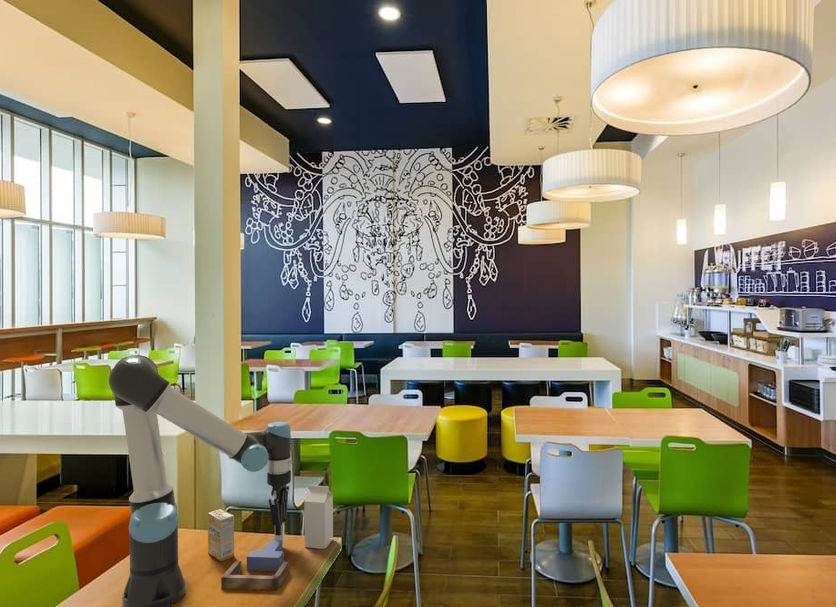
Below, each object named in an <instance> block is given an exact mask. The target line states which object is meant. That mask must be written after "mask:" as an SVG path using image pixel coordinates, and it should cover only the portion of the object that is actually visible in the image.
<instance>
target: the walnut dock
mask: <svg viewBox="0 0 836 607" xmlns="http://www.w3.org/2000/svg"><path fill="white" fill-rule="evenodd" d="M289 566H290V564H289V561H284V562H283V564H282V565H281V566H280V568H279V569H278V571H275V572H276V573H275V574H274V575H254V574H253V575H251V574H240V573H241V571H242V560H235V561H234V562H233V563H232V564H231V566H230V567H229V568H228V569H227V570H226V571H225V572H224V573H223V575H222V576H221V577H220V580H221V582H220V584H221V586H220V587H221V589H235V590H237V589H239V590H261V589H267V590H269V591H278V589H279V588H280V587H281V585H282V584H283V582H284V581H285V579H286V578H287V575H288V574H289ZM267 590H266V591H267Z"/></svg>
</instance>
